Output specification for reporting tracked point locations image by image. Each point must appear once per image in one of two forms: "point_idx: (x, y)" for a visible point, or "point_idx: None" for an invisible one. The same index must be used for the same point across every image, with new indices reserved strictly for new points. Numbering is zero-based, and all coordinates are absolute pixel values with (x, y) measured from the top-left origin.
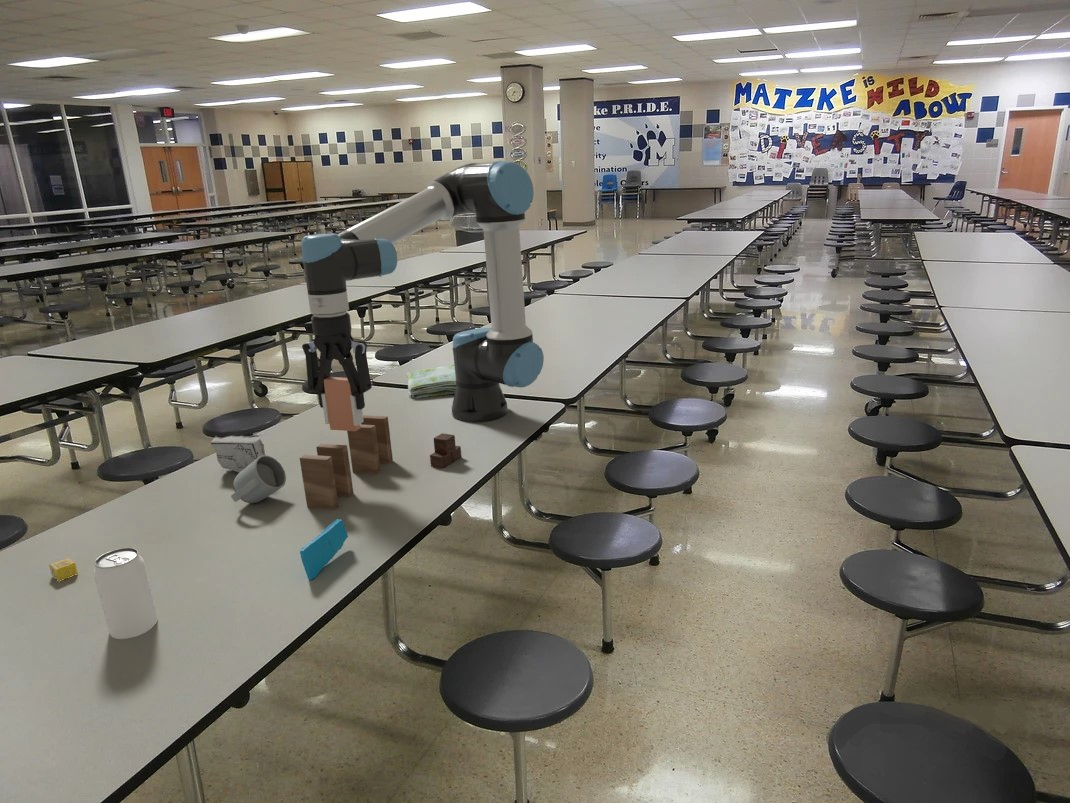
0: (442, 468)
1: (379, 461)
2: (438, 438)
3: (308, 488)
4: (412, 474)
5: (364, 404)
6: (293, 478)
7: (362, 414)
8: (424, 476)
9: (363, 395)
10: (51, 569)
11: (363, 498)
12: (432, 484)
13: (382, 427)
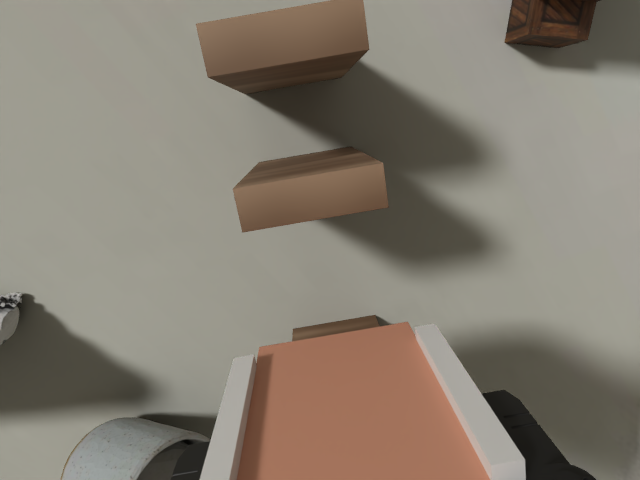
0: (556, 46)
1: (355, 149)
2: None
3: None
4: (472, 129)
5: (522, 408)
6: (108, 291)
7: (449, 347)
8: (520, 129)
9: (565, 461)
10: None
11: (418, 324)
12: (573, 175)
13: (346, 60)
